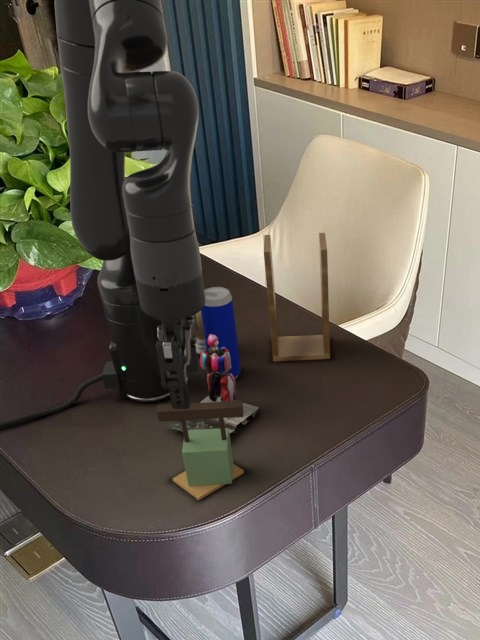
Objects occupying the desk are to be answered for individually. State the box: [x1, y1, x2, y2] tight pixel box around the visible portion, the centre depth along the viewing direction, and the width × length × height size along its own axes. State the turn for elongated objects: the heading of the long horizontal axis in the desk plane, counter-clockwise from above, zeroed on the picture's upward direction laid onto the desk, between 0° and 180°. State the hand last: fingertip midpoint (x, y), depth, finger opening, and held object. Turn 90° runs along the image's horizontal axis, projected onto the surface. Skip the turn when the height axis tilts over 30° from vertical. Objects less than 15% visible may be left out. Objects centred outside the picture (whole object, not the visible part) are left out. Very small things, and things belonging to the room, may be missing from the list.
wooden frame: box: [263, 232, 331, 362], centre depth 123 cm, size 10×7×20 cm
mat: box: [172, 463, 245, 501], centre depth 102 cm, size 8×6×1 cm
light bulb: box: [196, 311, 207, 356], centre depth 126 cm, size 6×6×10 cm
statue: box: [166, 334, 260, 434], centre depth 108 cm, size 11×9×15 cm
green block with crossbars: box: [156, 400, 244, 486], centre depth 98 cm, size 11×5×12 cm, turn 95°
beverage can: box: [201, 286, 242, 380], centre depth 118 cm, size 5×5×15 cm
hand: (186, 388), depth 92 cm, fingers open, 8 cm apart
